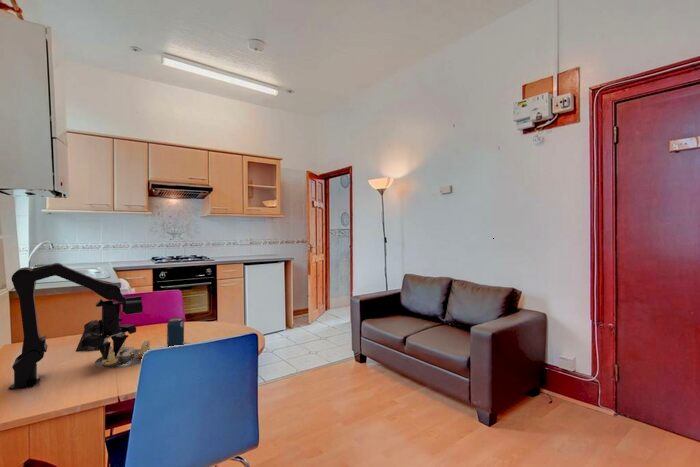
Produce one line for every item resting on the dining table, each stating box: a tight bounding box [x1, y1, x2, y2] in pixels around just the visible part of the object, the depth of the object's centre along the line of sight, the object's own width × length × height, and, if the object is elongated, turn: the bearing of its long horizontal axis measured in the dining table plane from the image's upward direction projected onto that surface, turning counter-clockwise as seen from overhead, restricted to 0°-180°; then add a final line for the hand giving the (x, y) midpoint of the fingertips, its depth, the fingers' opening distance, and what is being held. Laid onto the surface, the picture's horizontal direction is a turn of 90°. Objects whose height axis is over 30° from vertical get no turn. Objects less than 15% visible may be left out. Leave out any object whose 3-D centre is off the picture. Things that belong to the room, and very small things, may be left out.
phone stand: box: [75, 319, 102, 352], centre depth 154 cm, size 9×6×12 cm, turn 103°
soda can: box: [166, 317, 185, 347], centre depth 161 cm, size 7×7×12 cm
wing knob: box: [102, 345, 118, 367], centre depth 134 cm, size 7×5×6 cm
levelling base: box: [94, 340, 151, 369], centre depth 141 cm, size 20×20×7 cm
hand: (110, 357), depth 134 cm, fingers closed on wing knob, 4 cm apart
